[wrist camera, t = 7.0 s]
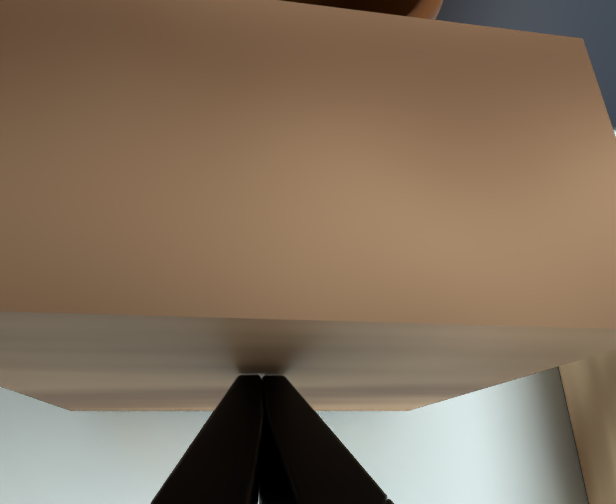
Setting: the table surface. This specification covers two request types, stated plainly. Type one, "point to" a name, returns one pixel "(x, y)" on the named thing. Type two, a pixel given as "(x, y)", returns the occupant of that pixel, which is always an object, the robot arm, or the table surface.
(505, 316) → the wooden block
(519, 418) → the table surface
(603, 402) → the channel
